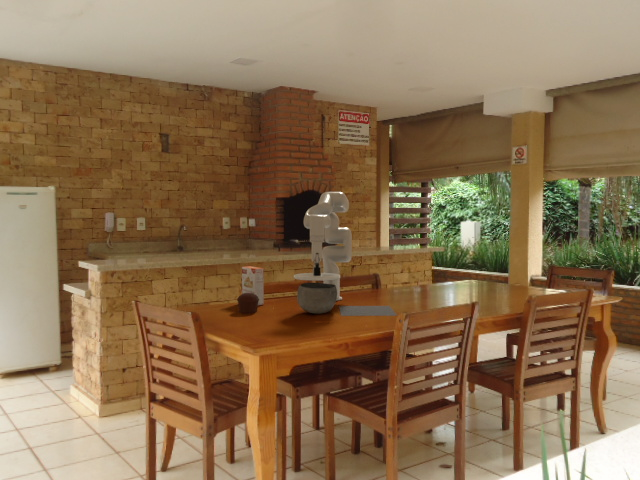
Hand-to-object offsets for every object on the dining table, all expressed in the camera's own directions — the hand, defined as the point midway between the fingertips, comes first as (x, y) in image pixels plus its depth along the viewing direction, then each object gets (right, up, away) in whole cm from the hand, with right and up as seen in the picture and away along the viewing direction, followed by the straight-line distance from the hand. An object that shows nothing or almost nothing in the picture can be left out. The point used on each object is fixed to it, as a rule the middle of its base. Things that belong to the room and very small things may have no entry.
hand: (317, 274), depth 305 cm
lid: (0, -2, 0) cm, 2 cm away
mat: (+26, -20, +6) cm, 33 cm away
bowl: (0, -20, +1) cm, 20 cm away
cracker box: (-36, -19, +30) cm, 51 cm away
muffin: (-36, -20, +5) cm, 42 cm away
